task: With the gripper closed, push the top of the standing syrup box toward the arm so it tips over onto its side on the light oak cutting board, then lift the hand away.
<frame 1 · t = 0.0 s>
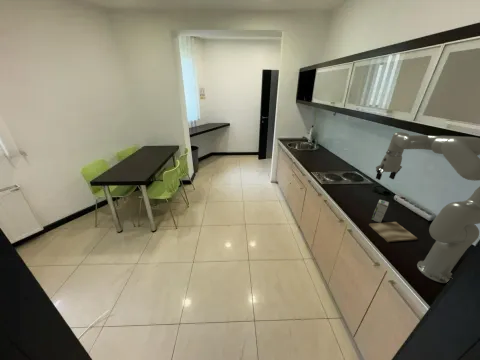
hand: (384, 178, 126), 31 cm above the counter, tool pointing down, fingers open, 9 cm apart
oak board: (391, 232, 127), on the counter
syrup box: (376, 219, 139), on the counter
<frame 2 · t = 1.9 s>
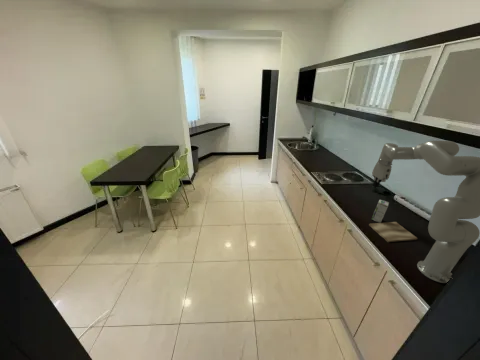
hand: (375, 186, 139), 21 cm above the counter, tool pointing down, fingers closed
nothing on the counter moved.
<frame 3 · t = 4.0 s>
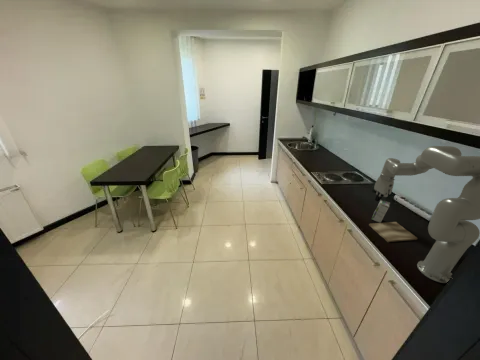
hand: (377, 200, 137), 13 cm above the counter, tool pointing down, fingers closed
syrup box: (376, 219, 139), on the counter, touching gripper
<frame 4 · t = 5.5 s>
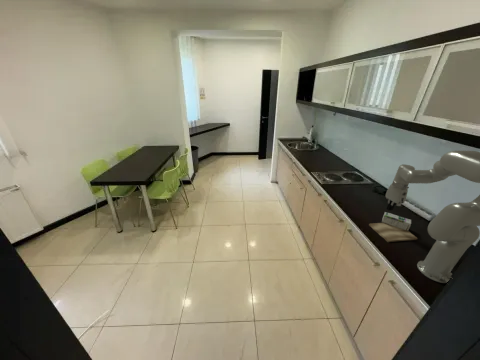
hand: (389, 209, 128), 12 cm above the counter, tool pointing down, fingers closed
syrup box: (382, 216, 135), point 4 cm above the counter, touching oak board
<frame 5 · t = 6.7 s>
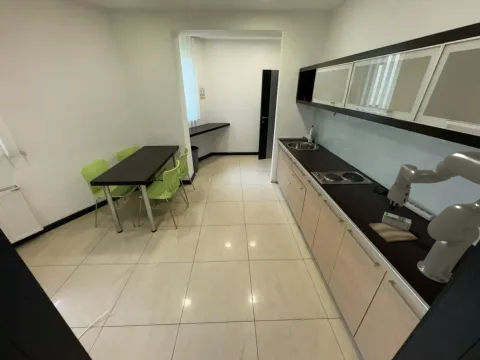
hand: (391, 210, 126), 13 cm above the counter, tool pointing down, fingers closed
nothing on the counter moved.
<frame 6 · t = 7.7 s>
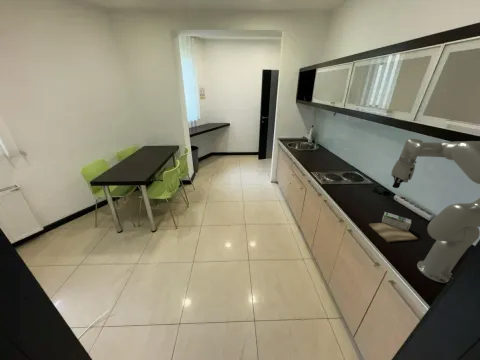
hand: (395, 187, 124), 27 cm above the counter, tool pointing down, fingers closed
nothing on the counter moved.
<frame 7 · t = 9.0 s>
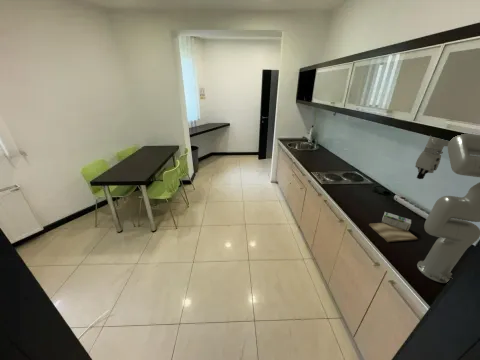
hand: (419, 178, 126), 32 cm above the counter, tool pointing down, fingers closed
nothing on the counter moved.
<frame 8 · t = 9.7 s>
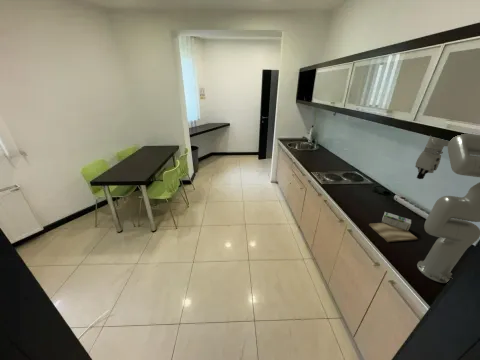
hand: (419, 178, 126), 32 cm above the counter, tool pointing down, fingers closed
nothing on the counter moved.
at the end: syrup box tilted 89°; syrup box touching oak board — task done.
